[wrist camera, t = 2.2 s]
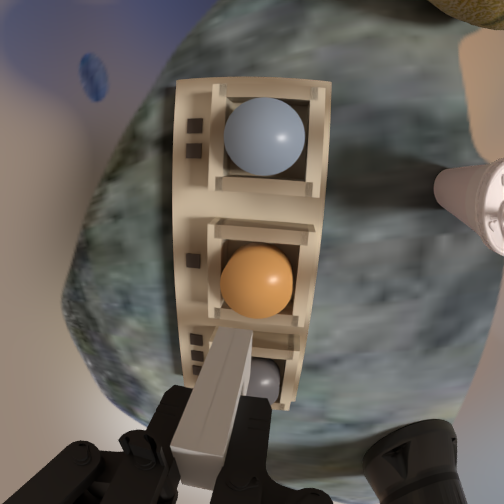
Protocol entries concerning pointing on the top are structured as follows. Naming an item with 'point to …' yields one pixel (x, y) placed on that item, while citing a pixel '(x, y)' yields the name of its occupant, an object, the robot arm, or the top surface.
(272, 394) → the charcoal button
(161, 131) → the top surface
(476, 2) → the cantaloupe
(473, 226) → the smoothie
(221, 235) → the button panel
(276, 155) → the blue button
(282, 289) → the orange button
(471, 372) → the top surface
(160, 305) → the top surface
